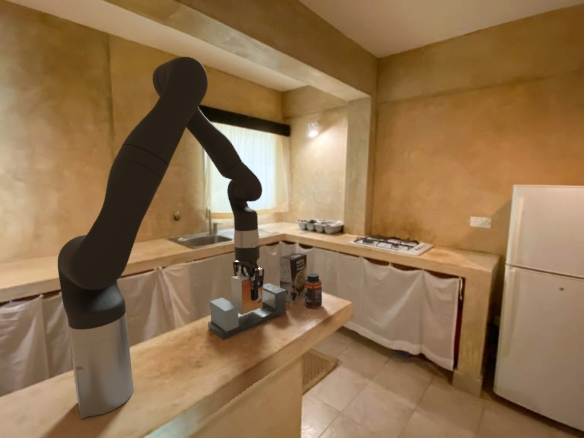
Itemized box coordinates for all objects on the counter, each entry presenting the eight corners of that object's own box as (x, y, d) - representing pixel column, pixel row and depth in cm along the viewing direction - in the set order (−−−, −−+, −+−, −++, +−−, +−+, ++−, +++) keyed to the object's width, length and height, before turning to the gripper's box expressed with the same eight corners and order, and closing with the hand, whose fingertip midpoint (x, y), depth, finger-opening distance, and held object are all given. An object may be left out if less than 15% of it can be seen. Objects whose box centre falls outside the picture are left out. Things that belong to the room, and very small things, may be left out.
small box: (241, 315, 82) (240, 280, 81) (231, 309, 86) (230, 276, 85) (263, 307, 88) (262, 274, 87) (252, 302, 92) (251, 270, 91)
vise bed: (223, 340, 77) (222, 312, 76) (208, 328, 84) (206, 302, 83) (286, 313, 92) (285, 289, 91) (269, 304, 99) (268, 283, 98)
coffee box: (293, 304, 99) (292, 259, 97) (279, 299, 103) (278, 257, 101) (307, 295, 107) (307, 254, 105) (294, 291, 111) (293, 251, 108)
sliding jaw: (226, 331, 77) (225, 311, 77) (211, 320, 84) (210, 301, 83) (238, 326, 80) (237, 306, 79) (223, 316, 87) (222, 297, 86)
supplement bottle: (324, 304, 99) (324, 273, 97) (317, 311, 94) (317, 278, 92) (309, 300, 102) (309, 270, 100) (301, 307, 97) (301, 275, 95)
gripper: (223, 242, 88) (226, 293, 90) (249, 250, 77) (252, 308, 79) (244, 238, 93) (246, 287, 95) (271, 245, 82) (272, 300, 84)
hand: (248, 296), depth 87 cm, fingers closed on small box, 5 cm apart
